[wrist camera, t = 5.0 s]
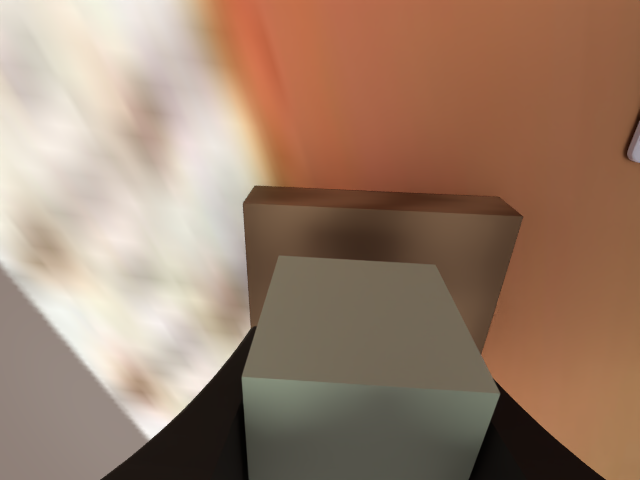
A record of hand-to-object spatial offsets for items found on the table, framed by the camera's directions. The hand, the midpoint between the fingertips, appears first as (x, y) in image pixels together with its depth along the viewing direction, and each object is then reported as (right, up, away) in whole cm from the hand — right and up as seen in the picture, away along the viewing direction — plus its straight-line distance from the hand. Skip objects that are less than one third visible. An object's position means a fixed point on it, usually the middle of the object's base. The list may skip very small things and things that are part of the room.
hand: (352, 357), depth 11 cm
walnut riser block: (+2, +1, +9) cm, 10 cm away
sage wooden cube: (0, +1, +1) cm, 2 cm away
